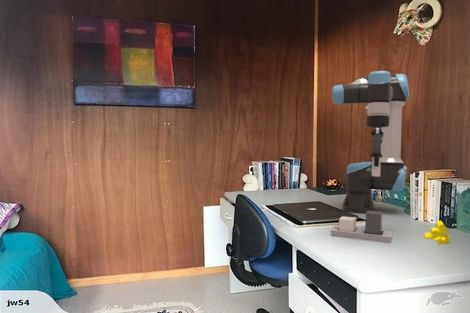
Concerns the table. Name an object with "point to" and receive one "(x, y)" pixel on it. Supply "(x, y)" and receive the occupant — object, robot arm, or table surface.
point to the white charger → (347, 224)
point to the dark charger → (373, 223)
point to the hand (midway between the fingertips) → (376, 175)
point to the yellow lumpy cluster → (438, 233)
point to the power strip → (363, 235)
